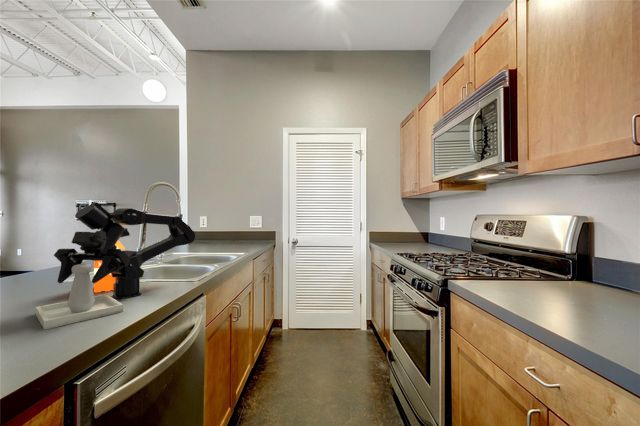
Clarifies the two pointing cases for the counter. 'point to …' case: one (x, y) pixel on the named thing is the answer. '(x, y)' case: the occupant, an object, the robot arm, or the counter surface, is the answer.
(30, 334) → the counter surface
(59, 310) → the tray
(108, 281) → the orange juice
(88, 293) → the salt shaker
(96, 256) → the robot arm
